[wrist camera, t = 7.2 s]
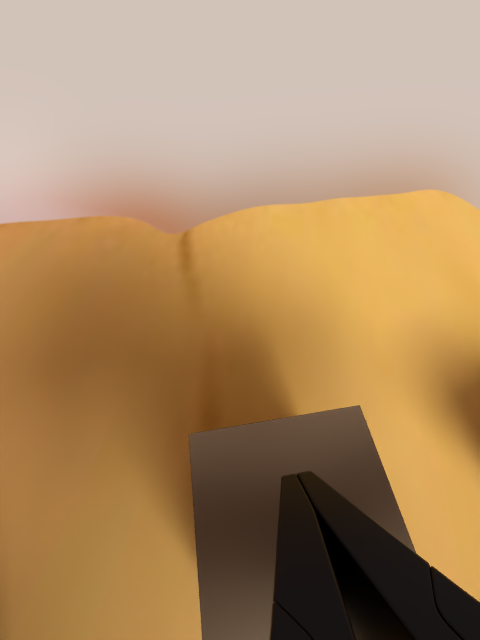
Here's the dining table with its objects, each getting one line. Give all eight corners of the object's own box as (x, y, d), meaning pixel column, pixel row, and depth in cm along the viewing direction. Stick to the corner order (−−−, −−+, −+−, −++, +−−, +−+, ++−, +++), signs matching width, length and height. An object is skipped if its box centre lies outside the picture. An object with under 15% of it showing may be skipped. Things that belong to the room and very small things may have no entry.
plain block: (347, 579, 14) (452, 648, 7) (222, 607, 13) (207, 711, 7) (311, 445, 17) (359, 405, 10) (208, 463, 17) (188, 433, 10)
